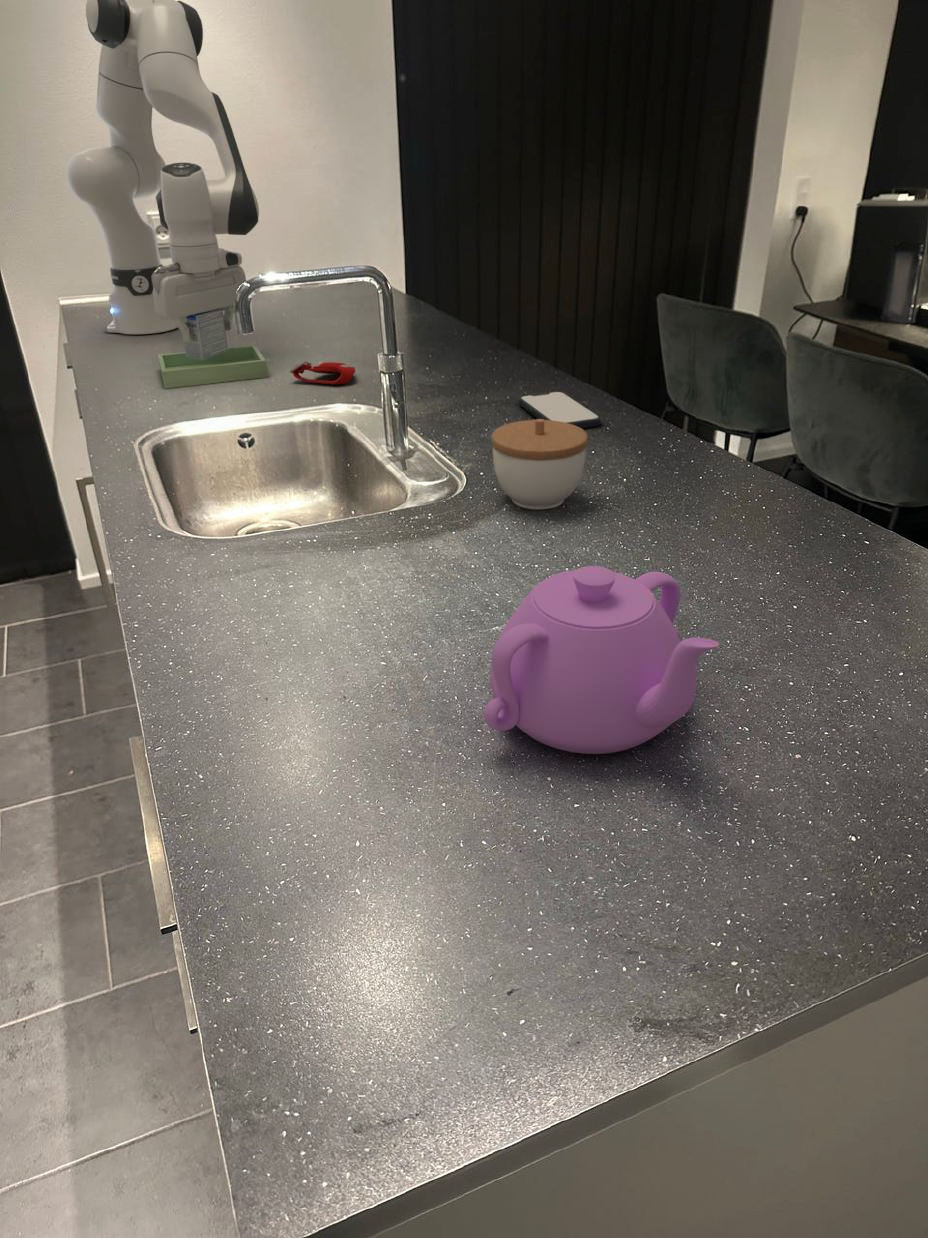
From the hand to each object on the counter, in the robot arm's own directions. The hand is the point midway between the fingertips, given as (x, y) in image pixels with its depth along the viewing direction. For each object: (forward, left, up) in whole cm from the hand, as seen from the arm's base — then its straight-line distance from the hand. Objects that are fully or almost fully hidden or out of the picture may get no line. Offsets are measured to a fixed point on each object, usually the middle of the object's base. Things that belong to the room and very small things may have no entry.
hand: (208, 334), depth 177 cm
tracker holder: (+14, +20, -8) cm, 25 cm away
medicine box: (-1, -1, -4) cm, 4 cm away
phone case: (+52, +52, -8) cm, 74 cm away
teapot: (+132, +19, -8) cm, 133 cm away
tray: (0, 0, -8) cm, 8 cm away
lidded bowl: (+84, +34, -8) cm, 90 cm away
